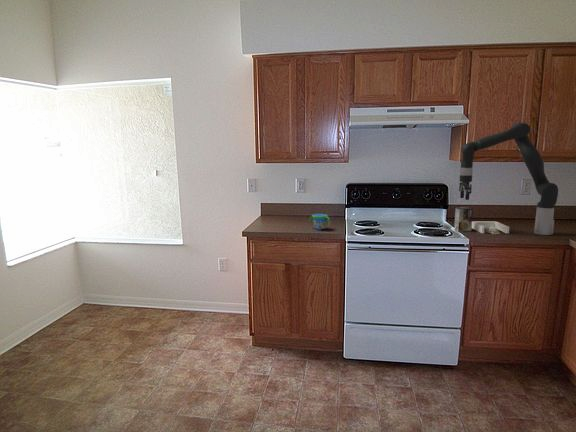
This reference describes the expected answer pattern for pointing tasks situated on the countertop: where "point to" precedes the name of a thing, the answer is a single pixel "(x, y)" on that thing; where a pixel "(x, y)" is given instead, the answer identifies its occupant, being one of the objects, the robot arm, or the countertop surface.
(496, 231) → the offcut middle
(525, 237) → the countertop surface
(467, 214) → the coffee box
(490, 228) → the offcut top
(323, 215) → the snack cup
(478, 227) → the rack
